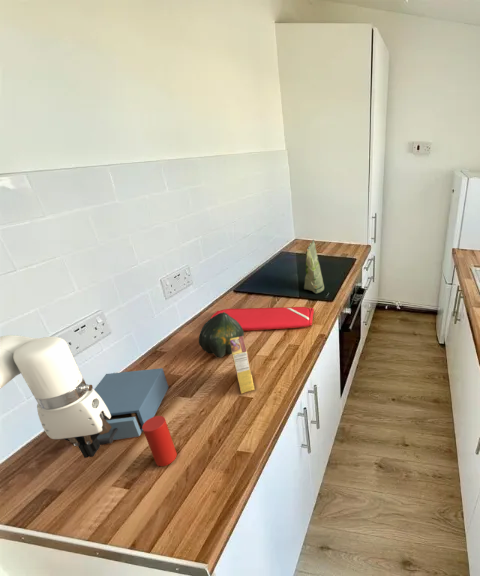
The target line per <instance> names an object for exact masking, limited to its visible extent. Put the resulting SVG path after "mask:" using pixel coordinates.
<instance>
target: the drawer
mask: <svg viewBox="0 0 480 576" xmlns="http://www.w3.org/2000/svg"><path fill="white" fill-rule="evenodd" d="M106 421H107V422H108V423H109V424H110V425H111V427H112V428H111V429H110V431H109V432H108V433H105V434H102V435H101V434H100V435H98V437H97V439H98V441H99V443H100V446H103V445H104V446H105V445H110V444H112V443H113V442H114V441H115V440H116V441H117V440H124V439H130V438H138V437H140V436H141V434H142V432H141V430H140V427H141V423H140V421H139V418H138V415H137V413H129V414H121V415H113V416H111V418H110V420H106Z"/></svg>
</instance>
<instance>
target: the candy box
mask: <svg viewBox="0 0 480 576" xmlns="http://www.w3.org/2000/svg"><path fill="white" fill-rule="evenodd" d="M230 345H231V351H232V354H231V355H232V360H233V366H234V370H235V373H236V378H237V382H238V386H239V387H238V388H239V389H240V390H239V391H240V394H241V395H242V394H245V393H248V392H251V391H255V385H254V379H253V375H252V370H251V365H250V359H249V354H248V349H247V346H246V343H245V339H243V336H240V337H236V338H231V339H230Z"/></svg>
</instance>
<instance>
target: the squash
mask: <svg viewBox="0 0 480 576" xmlns="http://www.w3.org/2000/svg"><path fill="white" fill-rule="evenodd" d="M211 317H212V316H211ZM211 317H210V318H211ZM210 318H209V319H208V320H207V321H206V322H205V323H204V324H203V326H202V328H201V329H200V331H199V335H198V345H199V346H200V348H201V349H202V351H204V352H205V353H207V354H209V355H213V356H215V357H216V358H219V359H221V358H223V357H224V356H225V355H227V356H228V355H230V356H231V355H232V351H231V345H230V339H231V338H236V337H240V336H243V339H244V336H245V331H243V329H242V327H241V326H240V324H239V323H238V322H237V321H236V320H235V319H234V318H232V317H230V316H229V315H228V314H226V313H225V312H223V313H219V314H217V315H216V316H214V317H212V318H211V319H210ZM244 340H245V339H244Z"/></svg>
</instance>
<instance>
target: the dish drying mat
mask: <svg viewBox="0 0 480 576" xmlns="http://www.w3.org/2000/svg"><path fill="white" fill-rule="evenodd" d="M223 312H225V313H226V314H228V315H229V316H230V317H232V318H234V319H235V320H236V321H237V322H238V323H239V324H240V326H241V327H242V329H243V331H244V332H245V331H246V332H247V331H265V330H282V329H297V328H298V329H299V328H305V327H312V325H313V320H314V319H313V318H314V312H315V308H314V307H307V306H290V307H289V306H287V307H282V306H281V307H249V308H247V307H246V308H225V309H220V310H217V311H215V313H213V314H212V315H211V317H210V318H209V320H210V319H211V318H212V317H214V316H216V315H217V314H219V313H223Z"/></svg>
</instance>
